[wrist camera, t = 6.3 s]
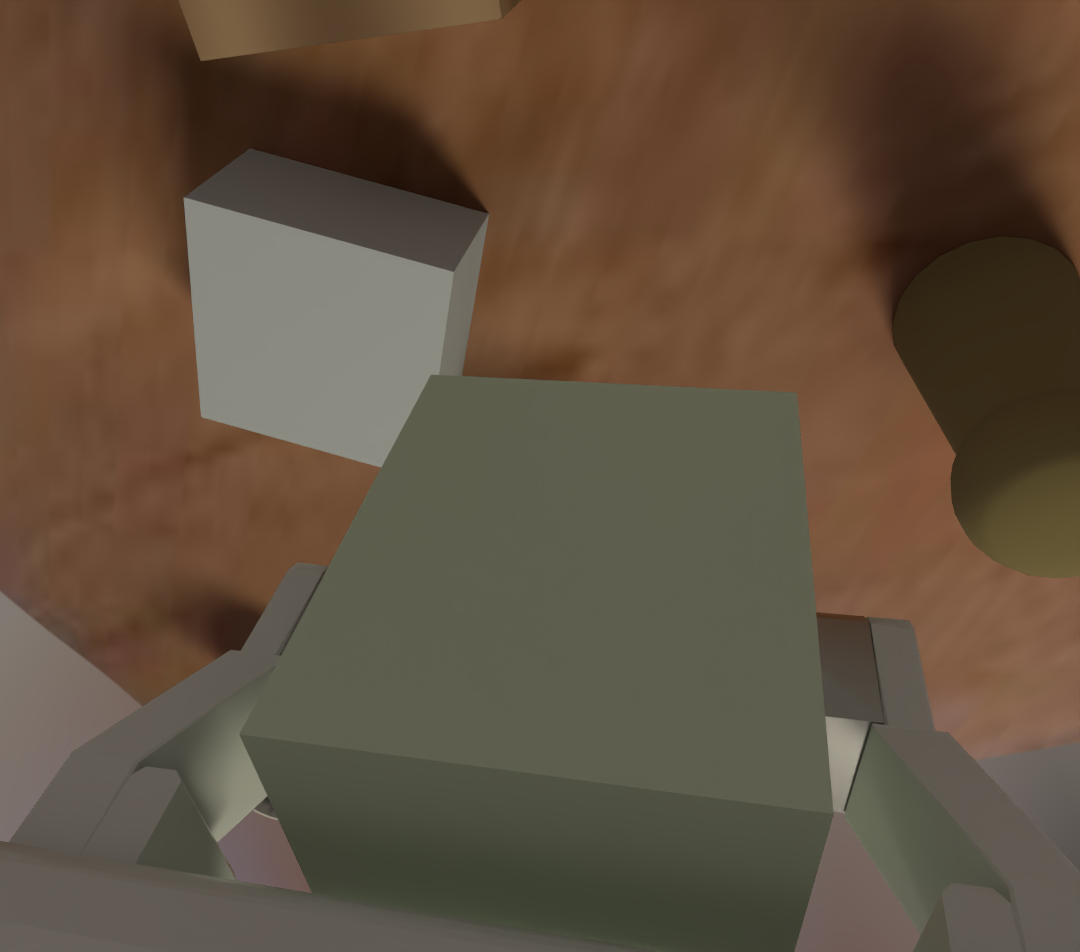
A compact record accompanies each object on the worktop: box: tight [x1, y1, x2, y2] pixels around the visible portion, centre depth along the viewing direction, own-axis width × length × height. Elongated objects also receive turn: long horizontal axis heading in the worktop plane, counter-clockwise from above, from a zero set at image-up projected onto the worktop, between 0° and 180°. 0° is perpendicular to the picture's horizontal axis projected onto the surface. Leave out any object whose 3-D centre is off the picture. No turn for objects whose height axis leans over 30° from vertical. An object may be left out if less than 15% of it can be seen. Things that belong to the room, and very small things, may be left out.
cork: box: [893, 236, 1080, 578], centre depth 26 cm, size 6×6×11 cm
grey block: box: [184, 148, 489, 467], centre depth 32 cm, size 9×9×5 cm
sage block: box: [239, 375, 834, 952], centre depth 11 cm, size 5×5×6 cm
